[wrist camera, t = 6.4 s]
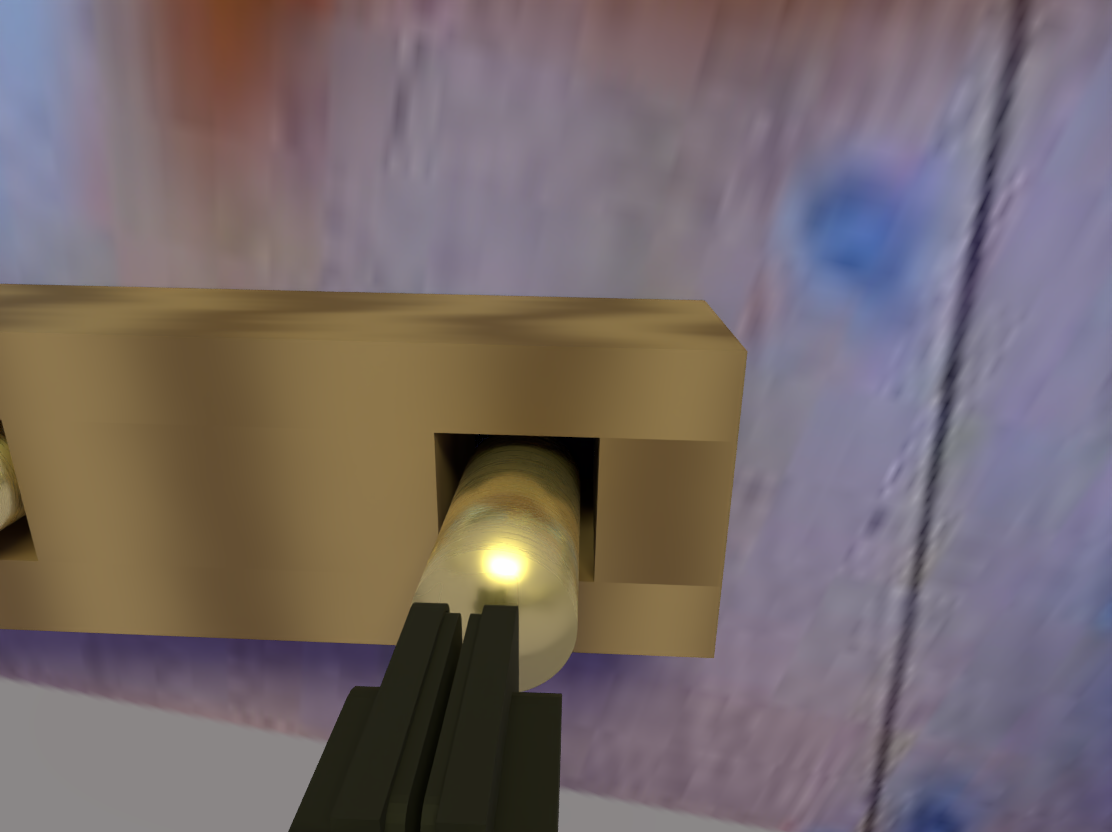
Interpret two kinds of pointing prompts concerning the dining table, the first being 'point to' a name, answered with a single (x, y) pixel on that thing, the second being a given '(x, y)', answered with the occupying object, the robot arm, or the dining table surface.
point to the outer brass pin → (8, 486)
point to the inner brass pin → (514, 547)
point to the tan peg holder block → (350, 455)
